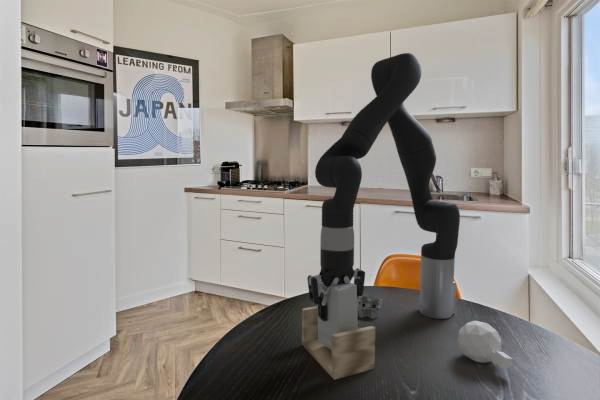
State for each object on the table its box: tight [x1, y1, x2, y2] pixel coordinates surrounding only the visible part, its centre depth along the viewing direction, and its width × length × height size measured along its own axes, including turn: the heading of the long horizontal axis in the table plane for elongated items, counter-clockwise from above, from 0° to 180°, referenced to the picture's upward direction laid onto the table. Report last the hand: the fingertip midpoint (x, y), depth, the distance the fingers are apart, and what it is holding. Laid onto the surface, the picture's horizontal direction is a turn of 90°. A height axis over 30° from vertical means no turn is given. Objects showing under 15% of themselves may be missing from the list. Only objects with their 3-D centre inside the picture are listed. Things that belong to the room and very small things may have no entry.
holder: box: [301, 305, 376, 381], centre depth 85 cm, size 10×16×9 cm, turn 24°
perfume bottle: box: [457, 320, 513, 369], centre depth 82 cm, size 9×9×12 cm
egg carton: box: [357, 294, 383, 320], centre depth 110 cm, size 10×7×4 cm
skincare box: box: [316, 280, 359, 350], centre depth 84 cm, size 8×6×15 cm
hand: (336, 316), depth 84 cm, fingers closed on skincare box, 6 cm apart
